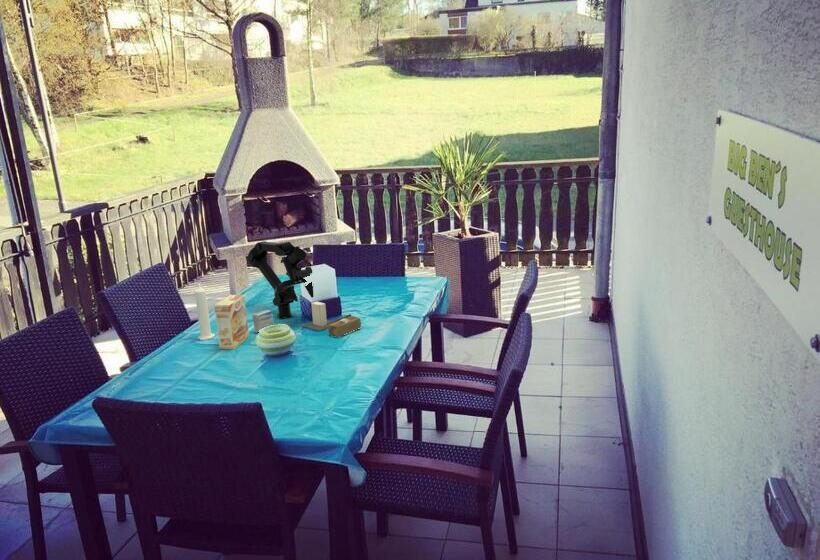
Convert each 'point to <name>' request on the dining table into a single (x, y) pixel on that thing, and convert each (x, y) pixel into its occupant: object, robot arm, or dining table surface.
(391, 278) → the dining table surface
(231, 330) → the coffeecake box
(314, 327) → the mat
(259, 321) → the medicine box
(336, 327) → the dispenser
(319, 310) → the cream pillar
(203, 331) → the candle
